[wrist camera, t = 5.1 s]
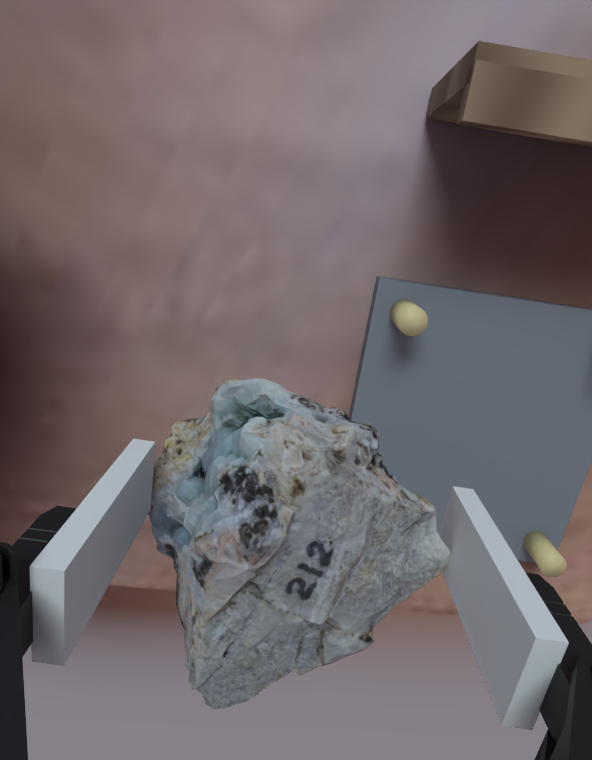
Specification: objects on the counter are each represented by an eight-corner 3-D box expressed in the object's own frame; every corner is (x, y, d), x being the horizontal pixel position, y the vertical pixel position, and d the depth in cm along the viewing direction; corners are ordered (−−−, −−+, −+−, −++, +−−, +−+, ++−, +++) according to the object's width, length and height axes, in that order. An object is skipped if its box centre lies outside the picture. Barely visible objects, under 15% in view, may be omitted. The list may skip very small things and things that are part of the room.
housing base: (327, 525, 39) (330, 560, 35) (377, 276, 32) (387, 283, 28) (544, 555, 39) (571, 592, 35) (634, 315, 33) (679, 328, 29)
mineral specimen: (258, 375, 23) (286, 578, 24) (85, 398, 18) (121, 658, 18) (427, 352, 16) (466, 650, 16) (214, 380, 11) (273, 818, 11)
